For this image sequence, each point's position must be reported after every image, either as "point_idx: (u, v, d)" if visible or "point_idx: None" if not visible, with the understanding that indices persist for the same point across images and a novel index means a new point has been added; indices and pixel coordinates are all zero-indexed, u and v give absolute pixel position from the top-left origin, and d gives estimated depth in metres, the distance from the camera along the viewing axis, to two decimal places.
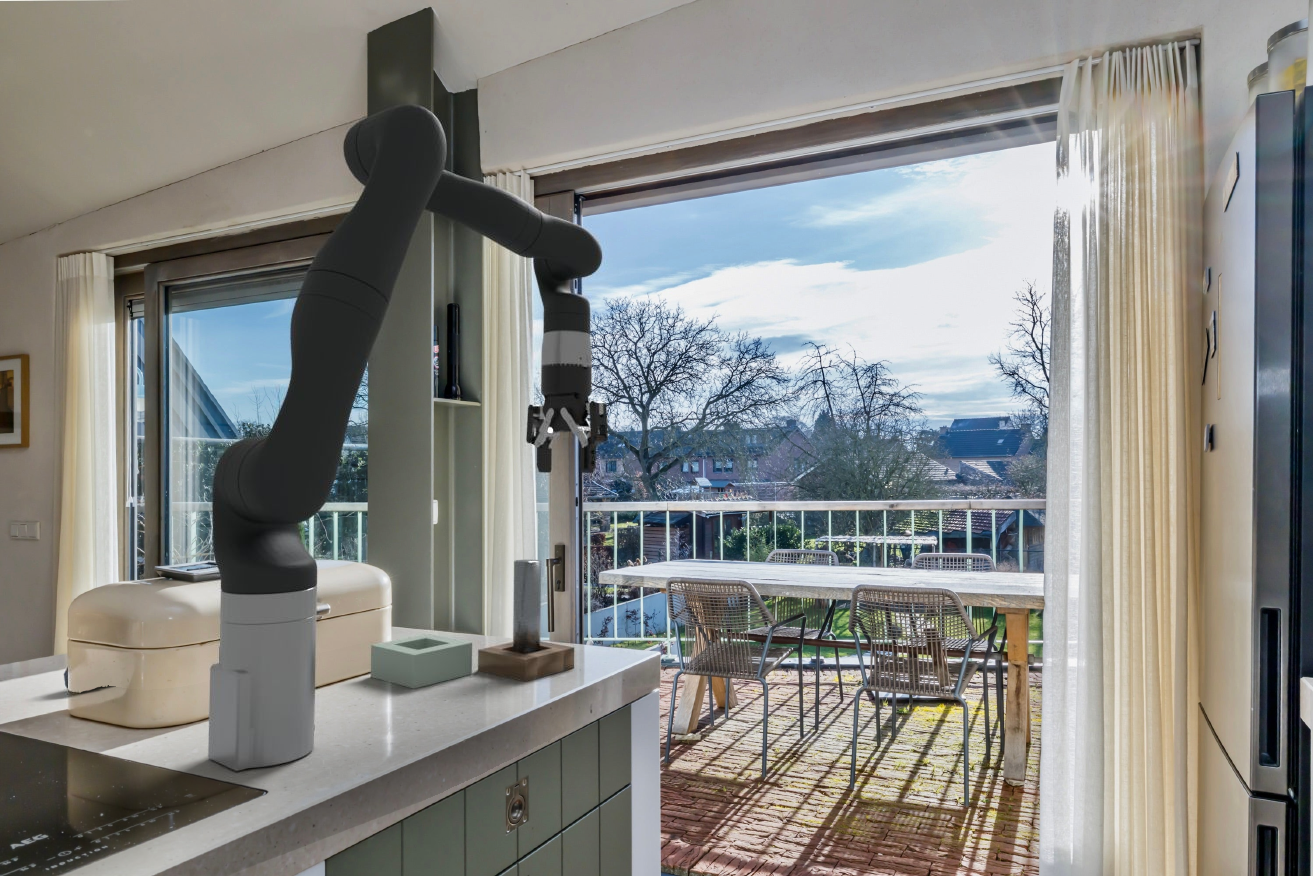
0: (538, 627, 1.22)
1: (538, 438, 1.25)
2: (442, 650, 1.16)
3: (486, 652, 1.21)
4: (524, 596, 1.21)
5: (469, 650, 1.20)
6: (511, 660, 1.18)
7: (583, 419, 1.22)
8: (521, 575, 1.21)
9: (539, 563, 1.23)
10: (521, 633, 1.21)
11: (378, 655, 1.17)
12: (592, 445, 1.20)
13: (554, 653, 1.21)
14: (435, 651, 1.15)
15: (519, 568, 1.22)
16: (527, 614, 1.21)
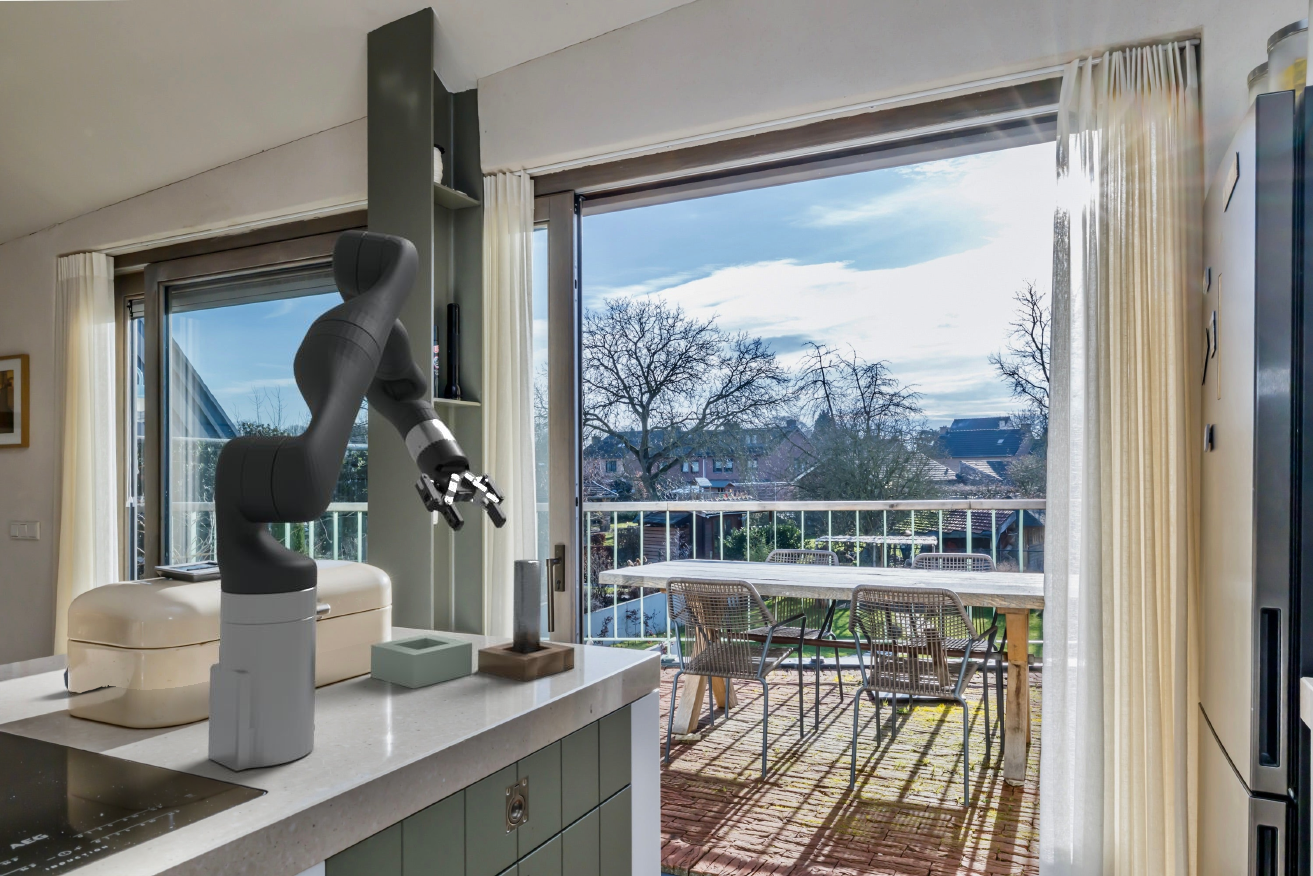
0: (538, 627, 1.22)
1: (447, 497, 1.28)
2: (442, 650, 1.16)
3: (486, 652, 1.21)
4: (524, 596, 1.21)
5: (469, 650, 1.20)
6: (511, 660, 1.18)
7: None
8: (521, 575, 1.21)
9: (539, 563, 1.23)
10: (521, 633, 1.21)
11: (378, 655, 1.17)
12: (497, 504, 1.36)
13: (554, 653, 1.21)
14: (435, 651, 1.15)
15: (519, 568, 1.22)
16: (527, 614, 1.21)
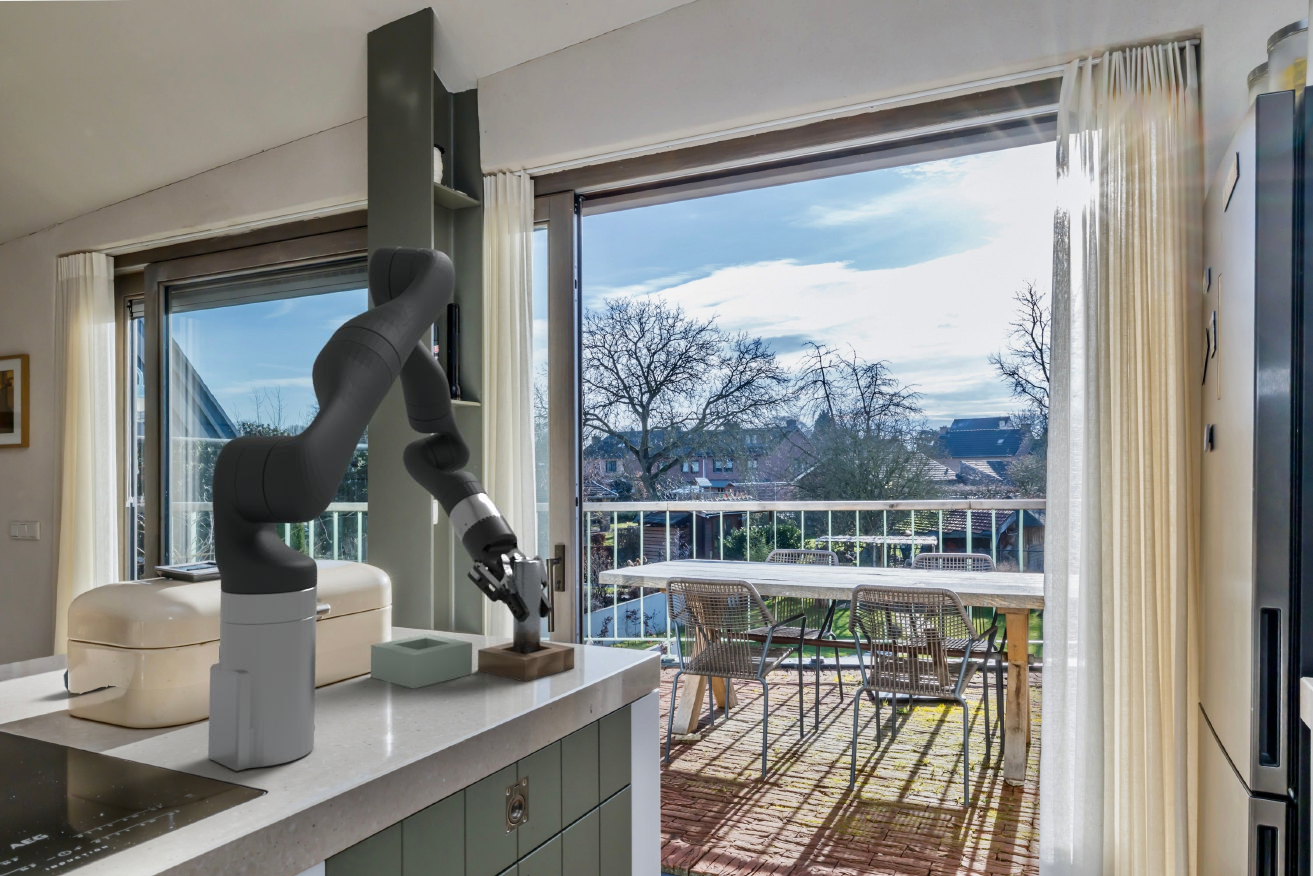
0: (538, 627, 1.22)
1: (511, 586, 1.22)
2: (442, 650, 1.16)
3: (486, 652, 1.21)
4: (524, 595, 1.21)
5: (469, 650, 1.20)
6: (511, 660, 1.18)
7: None
8: (521, 575, 1.21)
9: (539, 563, 1.23)
10: (521, 633, 1.21)
11: (378, 655, 1.17)
12: (541, 591, 1.26)
13: (554, 653, 1.21)
14: (435, 651, 1.15)
15: (519, 568, 1.22)
16: None
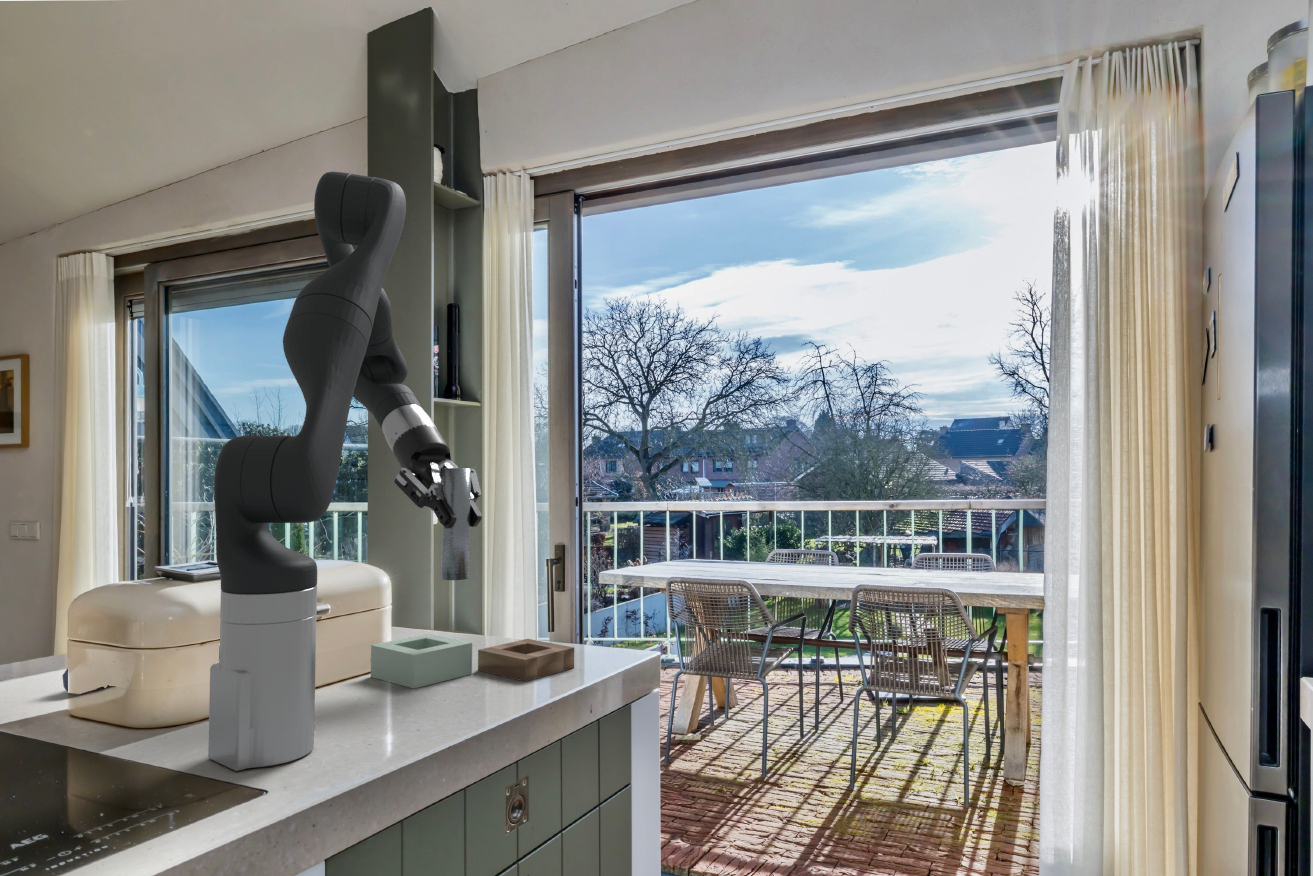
0: (467, 535, 1.20)
1: (438, 492, 1.19)
2: (442, 650, 1.16)
3: (486, 652, 1.21)
4: (452, 502, 1.19)
5: (469, 650, 1.20)
6: (511, 660, 1.18)
7: None
8: (449, 481, 1.19)
9: (468, 470, 1.20)
10: (449, 541, 1.18)
11: (378, 655, 1.17)
12: None
13: (554, 653, 1.21)
14: (435, 651, 1.15)
15: (447, 474, 1.19)
16: None
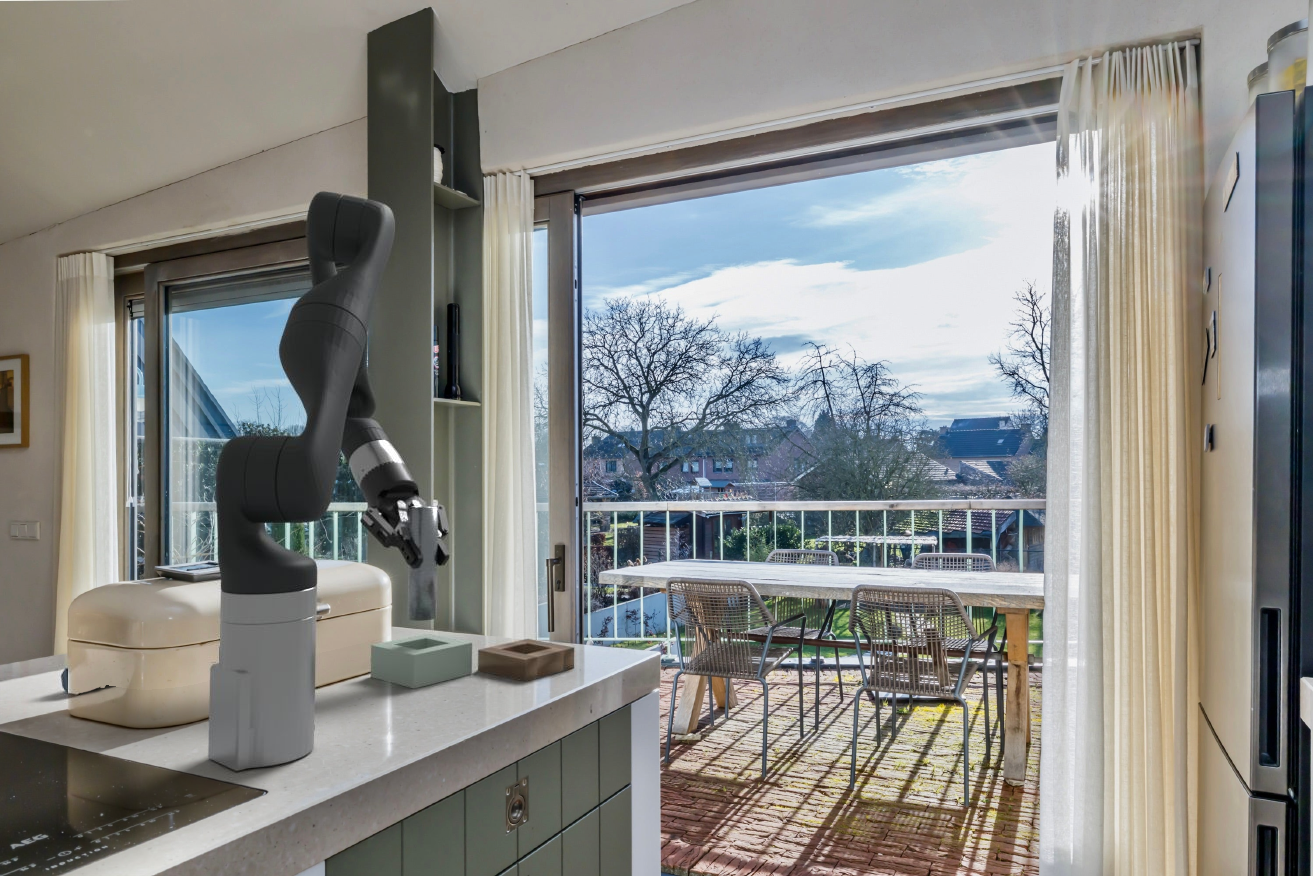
0: (434, 574, 1.19)
1: (405, 532, 1.18)
2: (442, 650, 1.16)
3: (486, 652, 1.21)
4: (418, 542, 1.18)
5: (469, 650, 1.20)
6: (511, 660, 1.18)
7: None
8: (415, 521, 1.18)
9: (435, 509, 1.19)
10: (415, 581, 1.17)
11: (378, 655, 1.17)
12: None
13: (554, 653, 1.21)
14: (435, 651, 1.15)
15: (413, 513, 1.18)
16: None
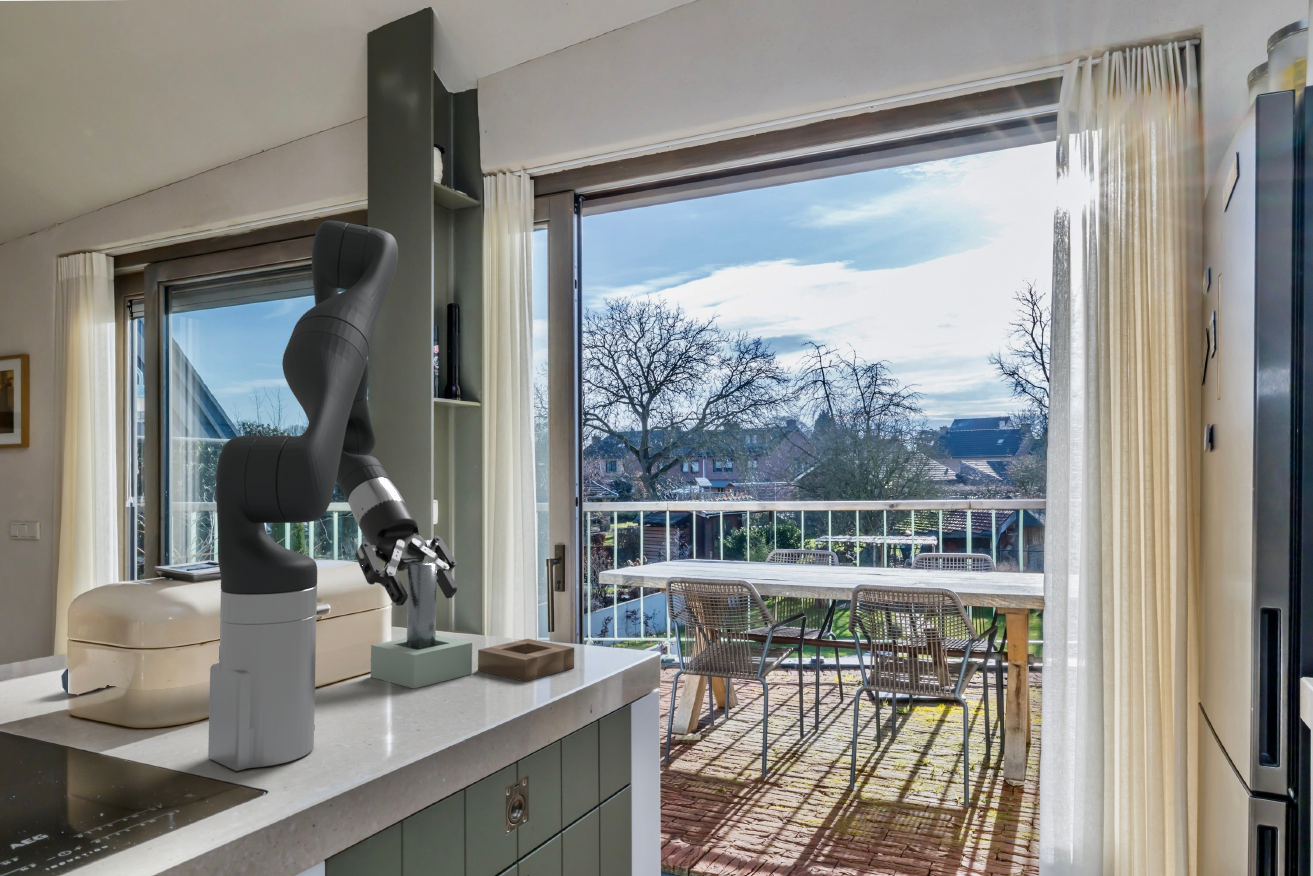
0: (432, 632, 1.18)
1: (390, 568, 1.17)
2: (442, 650, 1.16)
3: (486, 652, 1.21)
4: (417, 599, 1.17)
5: (469, 650, 1.20)
6: (511, 660, 1.18)
7: None
8: (414, 578, 1.17)
9: (434, 566, 1.19)
10: (414, 639, 1.17)
11: (378, 655, 1.17)
12: (448, 571, 1.24)
13: (554, 653, 1.21)
14: (435, 651, 1.15)
15: (412, 571, 1.18)
16: (420, 618, 1.17)
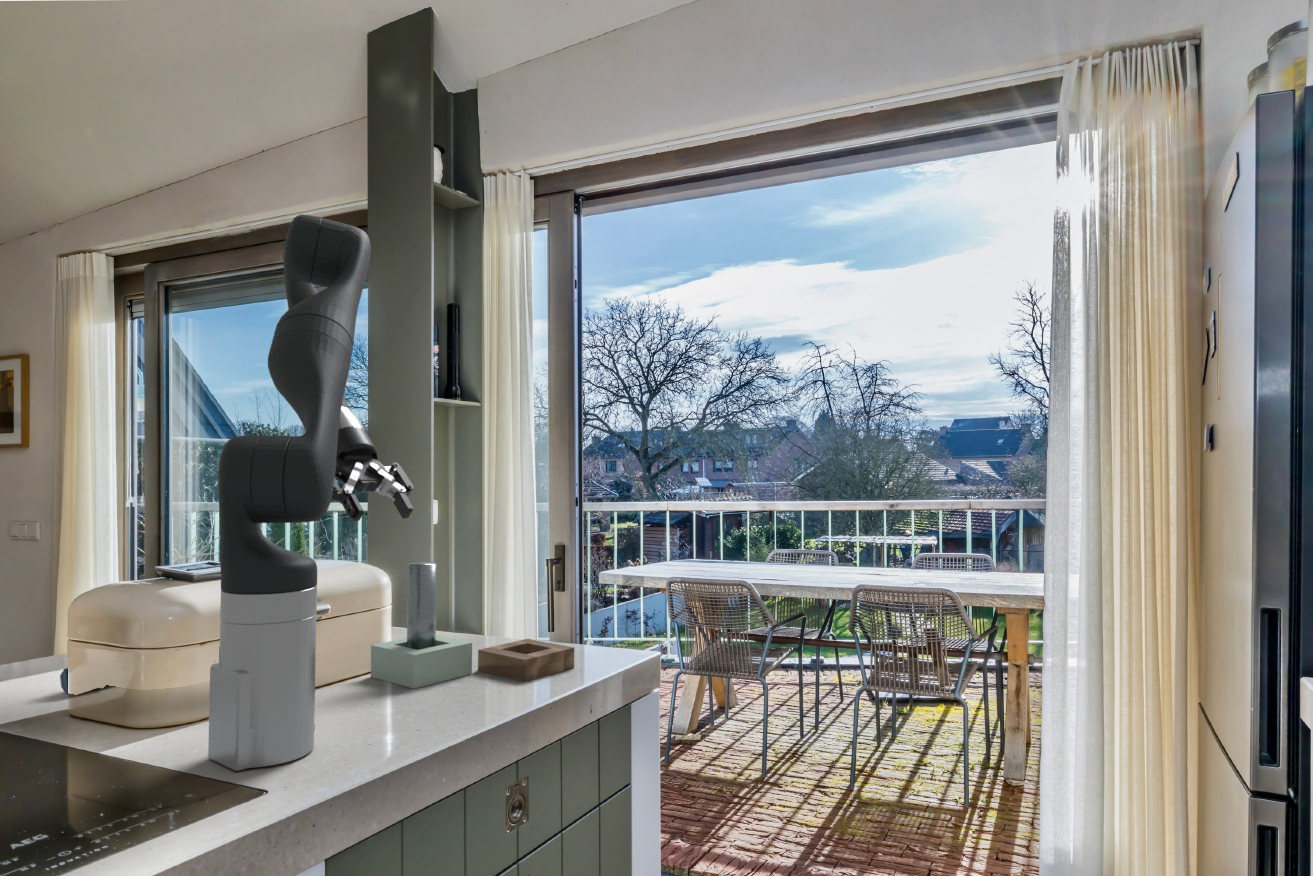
0: (432, 632, 1.18)
1: (347, 486, 1.24)
2: (442, 650, 1.16)
3: (486, 652, 1.21)
4: (417, 599, 1.17)
5: (469, 650, 1.20)
6: (511, 660, 1.18)
7: None
8: (414, 578, 1.17)
9: (434, 566, 1.19)
10: (414, 639, 1.17)
11: (378, 655, 1.17)
12: (405, 494, 1.32)
13: (554, 653, 1.21)
14: (435, 651, 1.15)
15: (412, 571, 1.18)
16: (420, 618, 1.17)
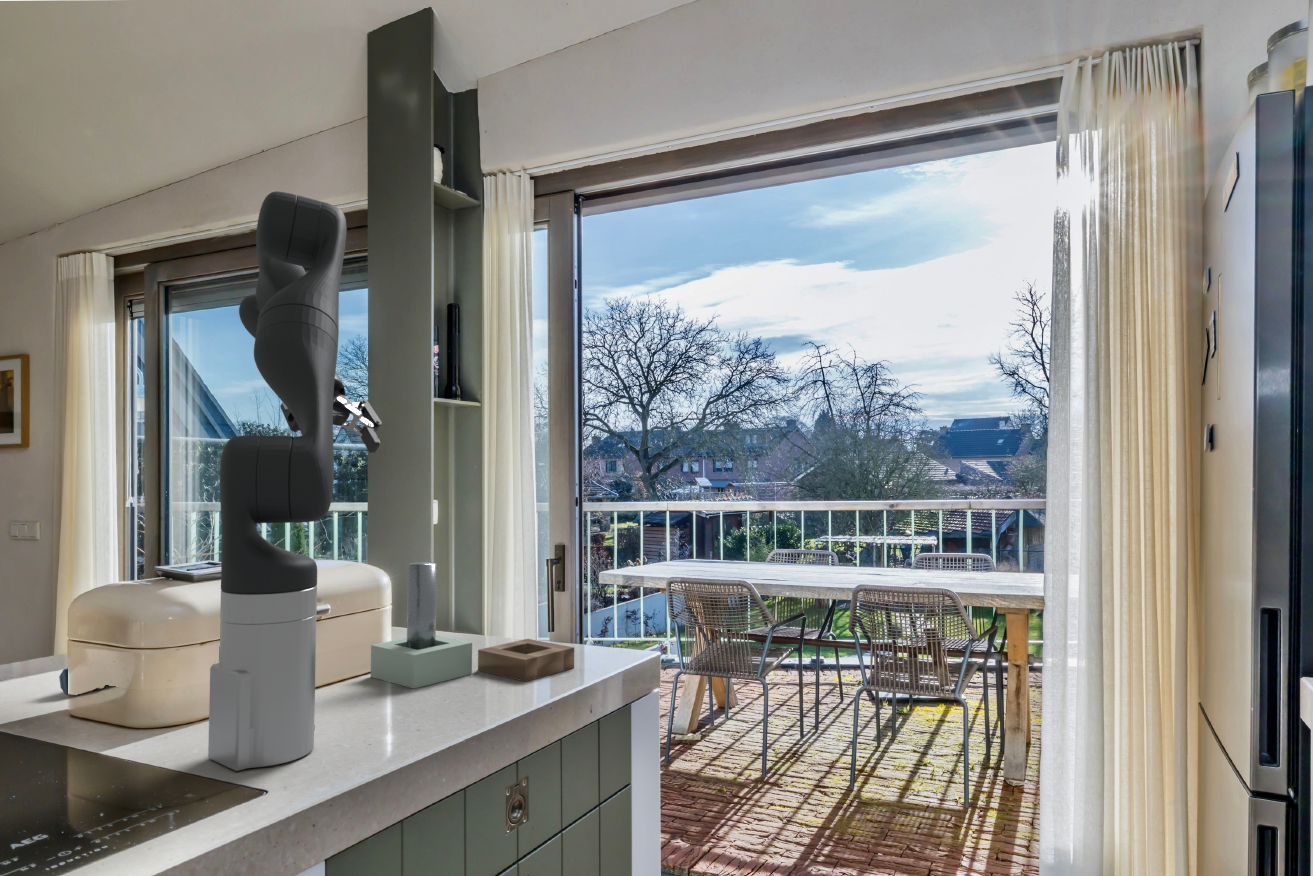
0: (432, 632, 1.18)
1: None
2: (442, 650, 1.16)
3: (486, 652, 1.21)
4: (417, 599, 1.17)
5: (469, 650, 1.20)
6: (511, 660, 1.18)
7: None
8: (414, 578, 1.17)
9: (434, 566, 1.19)
10: (414, 639, 1.17)
11: (378, 655, 1.17)
12: None
13: (554, 653, 1.21)
14: (435, 651, 1.15)
15: (412, 571, 1.18)
16: (419, 618, 1.17)
